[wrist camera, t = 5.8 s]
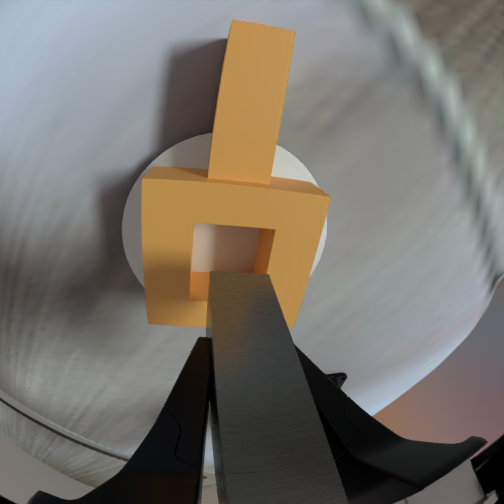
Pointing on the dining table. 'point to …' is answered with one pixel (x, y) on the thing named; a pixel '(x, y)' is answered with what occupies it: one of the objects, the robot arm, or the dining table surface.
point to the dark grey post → (262, 402)
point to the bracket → (229, 194)
